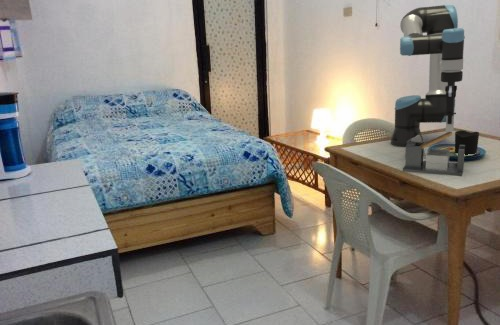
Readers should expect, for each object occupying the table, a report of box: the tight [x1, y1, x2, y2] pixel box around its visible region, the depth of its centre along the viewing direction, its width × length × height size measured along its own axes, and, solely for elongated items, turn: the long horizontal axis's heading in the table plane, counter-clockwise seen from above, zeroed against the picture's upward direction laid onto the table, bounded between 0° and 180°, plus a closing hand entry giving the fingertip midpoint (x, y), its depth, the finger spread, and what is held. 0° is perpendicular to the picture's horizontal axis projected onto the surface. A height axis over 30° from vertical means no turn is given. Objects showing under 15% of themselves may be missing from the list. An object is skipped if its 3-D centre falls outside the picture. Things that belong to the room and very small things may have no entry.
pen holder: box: [454, 129, 480, 155], centre depth 193 cm, size 9×9×10 cm
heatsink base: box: [402, 141, 465, 177], centre depth 178 cm, size 22×13×10 cm, turn 63°
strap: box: [421, 132, 453, 150], centre depth 177 cm, size 15×4×1 cm
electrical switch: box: [406, 135, 426, 156], centre depth 196 cm, size 9×5×9 cm, turn 141°
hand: (449, 131), depth 173 cm, fingers closed
